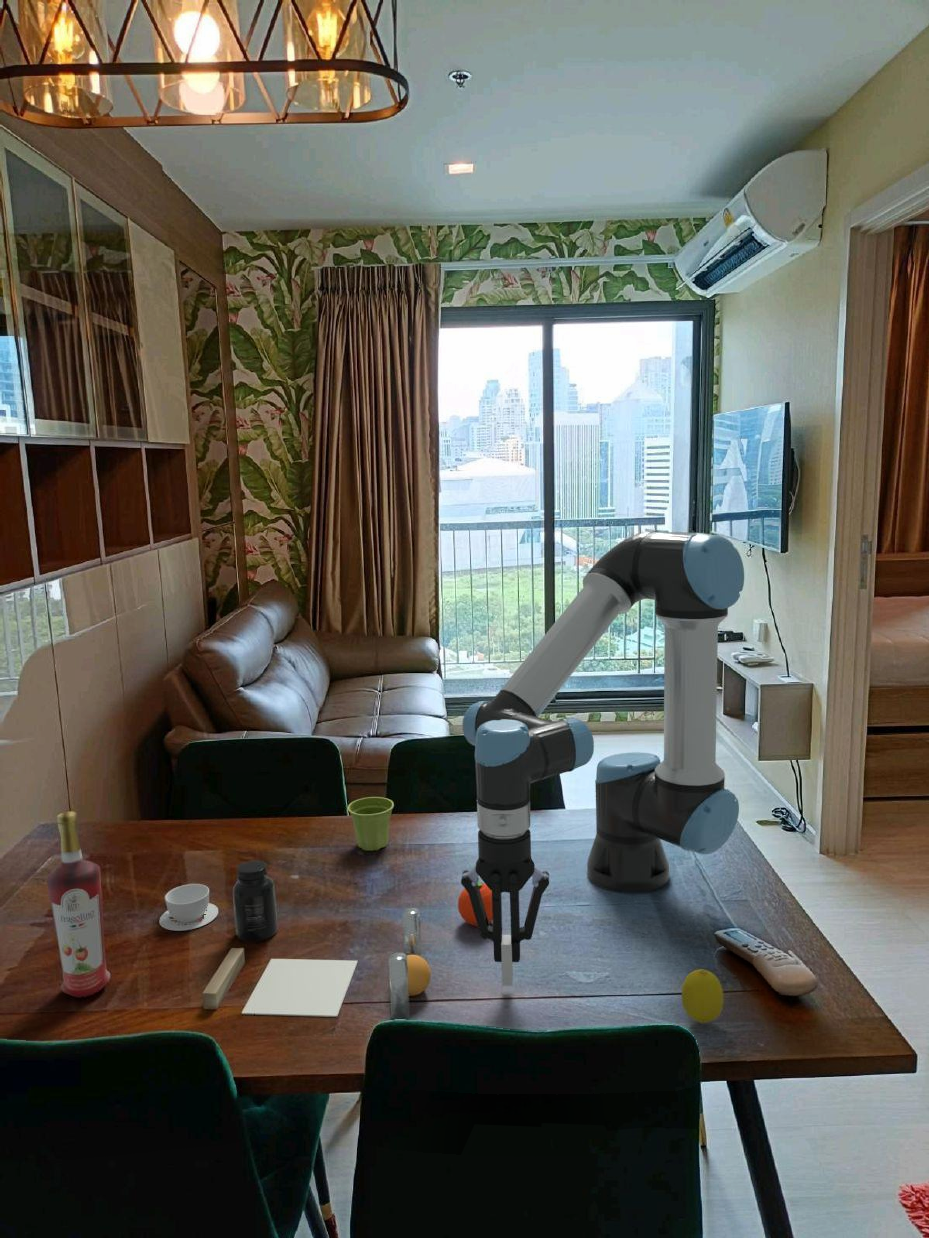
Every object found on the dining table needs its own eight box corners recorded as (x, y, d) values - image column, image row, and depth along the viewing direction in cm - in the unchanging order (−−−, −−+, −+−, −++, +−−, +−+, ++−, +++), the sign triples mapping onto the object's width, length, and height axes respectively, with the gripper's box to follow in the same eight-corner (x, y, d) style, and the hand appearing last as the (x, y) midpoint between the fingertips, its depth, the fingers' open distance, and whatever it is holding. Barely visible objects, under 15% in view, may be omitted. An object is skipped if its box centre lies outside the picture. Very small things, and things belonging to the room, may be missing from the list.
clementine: (449, 915, 151) (448, 877, 150) (486, 906, 154) (485, 869, 152) (468, 937, 144) (467, 897, 142) (506, 927, 146) (505, 888, 145)
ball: (423, 987, 132) (439, 957, 131) (418, 1009, 126) (434, 978, 125) (390, 970, 132) (406, 940, 131) (383, 992, 126) (399, 961, 125)
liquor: (59, 1008, 128) (38, 828, 123) (60, 982, 134) (40, 810, 130) (113, 995, 131) (94, 819, 126) (111, 970, 137) (93, 802, 132)
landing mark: (357, 961, 138) (357, 960, 138) (337, 1016, 124) (337, 1015, 124) (271, 959, 139) (271, 958, 139) (241, 1013, 125) (241, 1012, 125)
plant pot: (393, 854, 176) (391, 813, 174) (346, 855, 176) (344, 814, 174) (397, 835, 185) (395, 796, 183) (353, 836, 185) (351, 797, 184)
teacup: (230, 910, 156) (228, 885, 155) (191, 937, 147) (189, 912, 146) (187, 900, 160) (184, 876, 159) (146, 926, 151) (144, 901, 150)
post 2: (423, 960, 137) (420, 907, 136) (420, 970, 135) (418, 916, 133) (406, 960, 137) (404, 907, 136) (404, 969, 135) (401, 916, 133)
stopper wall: (245, 962, 138) (243, 948, 138) (217, 1008, 126) (215, 993, 126) (232, 962, 138) (231, 947, 138) (203, 1008, 127) (202, 992, 126)
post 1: (410, 1010, 125) (408, 952, 123) (408, 1021, 122) (405, 963, 121) (392, 1009, 125) (390, 952, 123) (389, 1021, 122) (386, 962, 121)
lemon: (675, 1012, 123) (676, 960, 121) (714, 1009, 123) (715, 957, 122) (689, 1037, 117) (690, 983, 116) (729, 1034, 118) (730, 979, 116)
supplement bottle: (285, 925, 149) (280, 860, 147) (263, 946, 143) (258, 878, 141) (250, 920, 151) (245, 855, 149) (228, 940, 145) (222, 873, 143)
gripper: (456, 839, 121) (461, 994, 125) (550, 840, 120) (552, 996, 124) (461, 818, 128) (465, 964, 132) (549, 818, 127) (551, 966, 131)
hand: (507, 980), depth 128 cm, fingers closed
